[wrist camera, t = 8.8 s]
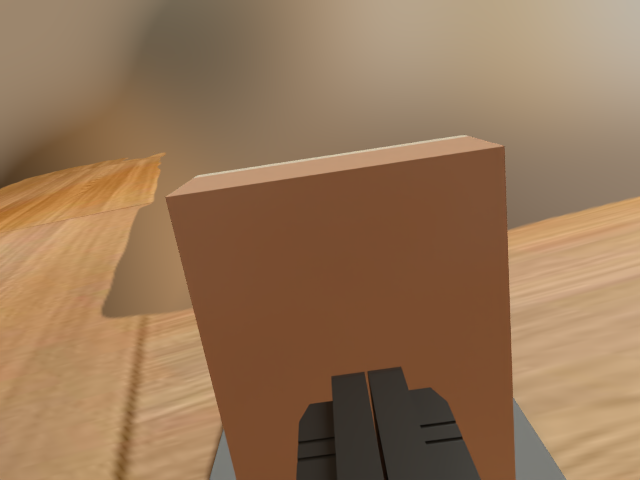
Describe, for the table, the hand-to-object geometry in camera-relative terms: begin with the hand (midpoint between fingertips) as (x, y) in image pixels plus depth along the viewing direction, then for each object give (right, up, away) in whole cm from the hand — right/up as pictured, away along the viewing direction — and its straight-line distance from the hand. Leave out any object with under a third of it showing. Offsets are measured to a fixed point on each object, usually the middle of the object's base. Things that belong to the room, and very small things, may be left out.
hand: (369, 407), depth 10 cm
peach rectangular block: (+1, -8, +8) cm, 12 cm away
